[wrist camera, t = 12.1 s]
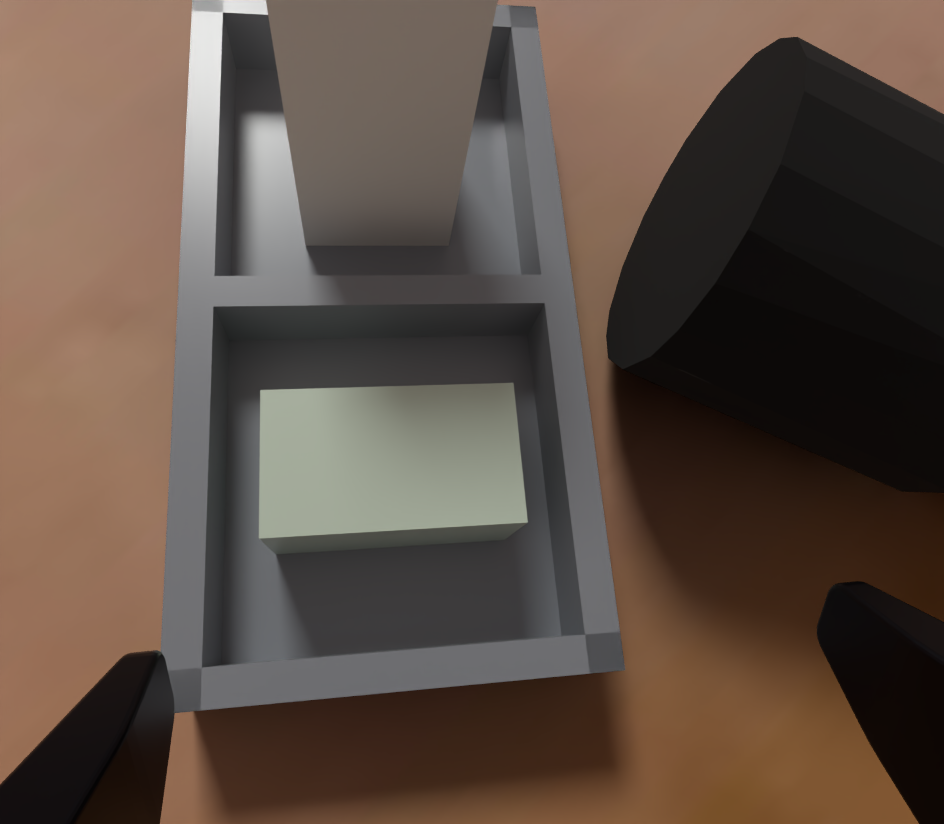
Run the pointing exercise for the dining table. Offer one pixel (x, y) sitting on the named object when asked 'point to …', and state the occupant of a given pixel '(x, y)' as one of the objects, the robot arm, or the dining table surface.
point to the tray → (376, 413)
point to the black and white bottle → (801, 266)
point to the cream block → (379, 113)
